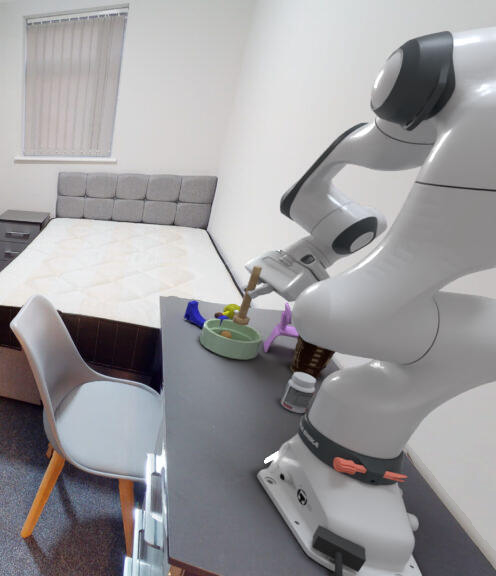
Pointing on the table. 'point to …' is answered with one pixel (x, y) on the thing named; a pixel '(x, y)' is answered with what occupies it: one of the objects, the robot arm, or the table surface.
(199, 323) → the blue curved piece
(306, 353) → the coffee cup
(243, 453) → the table surface
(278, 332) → the toy chair
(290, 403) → the pill bottle
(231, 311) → the toy figure
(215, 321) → the bowl
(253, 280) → the stirring stick
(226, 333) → the ball
